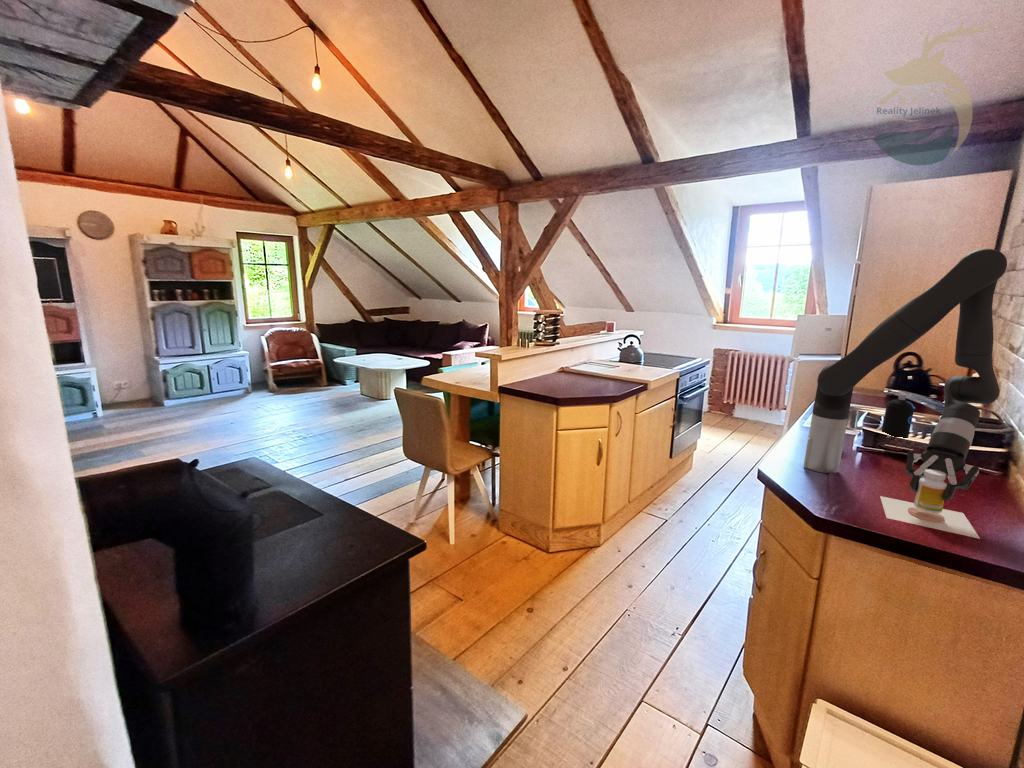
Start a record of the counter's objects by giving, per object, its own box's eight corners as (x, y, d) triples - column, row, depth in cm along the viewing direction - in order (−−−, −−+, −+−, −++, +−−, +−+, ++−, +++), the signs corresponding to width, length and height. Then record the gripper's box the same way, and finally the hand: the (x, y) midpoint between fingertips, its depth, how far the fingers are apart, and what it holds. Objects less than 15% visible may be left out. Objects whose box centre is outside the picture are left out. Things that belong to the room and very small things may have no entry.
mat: (886, 520, 117) (886, 517, 117) (879, 498, 130) (879, 496, 130) (979, 541, 108) (980, 538, 108) (962, 515, 121) (963, 513, 121)
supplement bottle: (947, 515, 116) (955, 477, 114) (922, 512, 117) (929, 475, 115) (933, 505, 121) (940, 469, 119) (908, 502, 122) (916, 467, 120)
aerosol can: (881, 449, 170) (892, 395, 166) (874, 442, 177) (884, 390, 173) (910, 453, 167) (922, 397, 163) (901, 446, 174) (912, 393, 170)
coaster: (909, 517, 118) (910, 515, 118) (905, 506, 124) (905, 505, 124) (947, 525, 114) (947, 523, 114) (940, 513, 120) (941, 512, 120)
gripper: (914, 424, 125) (891, 477, 120) (990, 439, 114) (968, 498, 109) (916, 440, 129) (894, 492, 124) (989, 455, 118) (968, 513, 113)
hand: (929, 494), depth 117 cm, fingers closed on supplement bottle, 5 cm apart
